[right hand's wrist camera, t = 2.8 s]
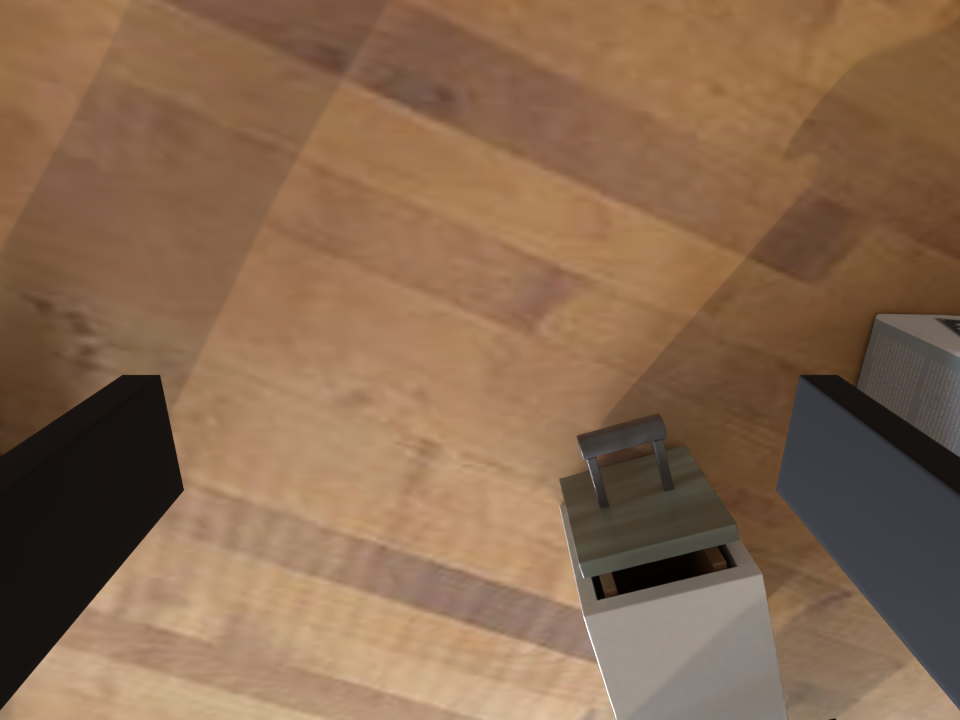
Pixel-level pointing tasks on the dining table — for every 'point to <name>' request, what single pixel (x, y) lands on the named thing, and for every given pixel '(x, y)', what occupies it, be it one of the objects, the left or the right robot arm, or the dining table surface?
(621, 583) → the drawer
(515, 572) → the dining table surface
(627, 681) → the white carton
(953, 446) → the hard drive box
